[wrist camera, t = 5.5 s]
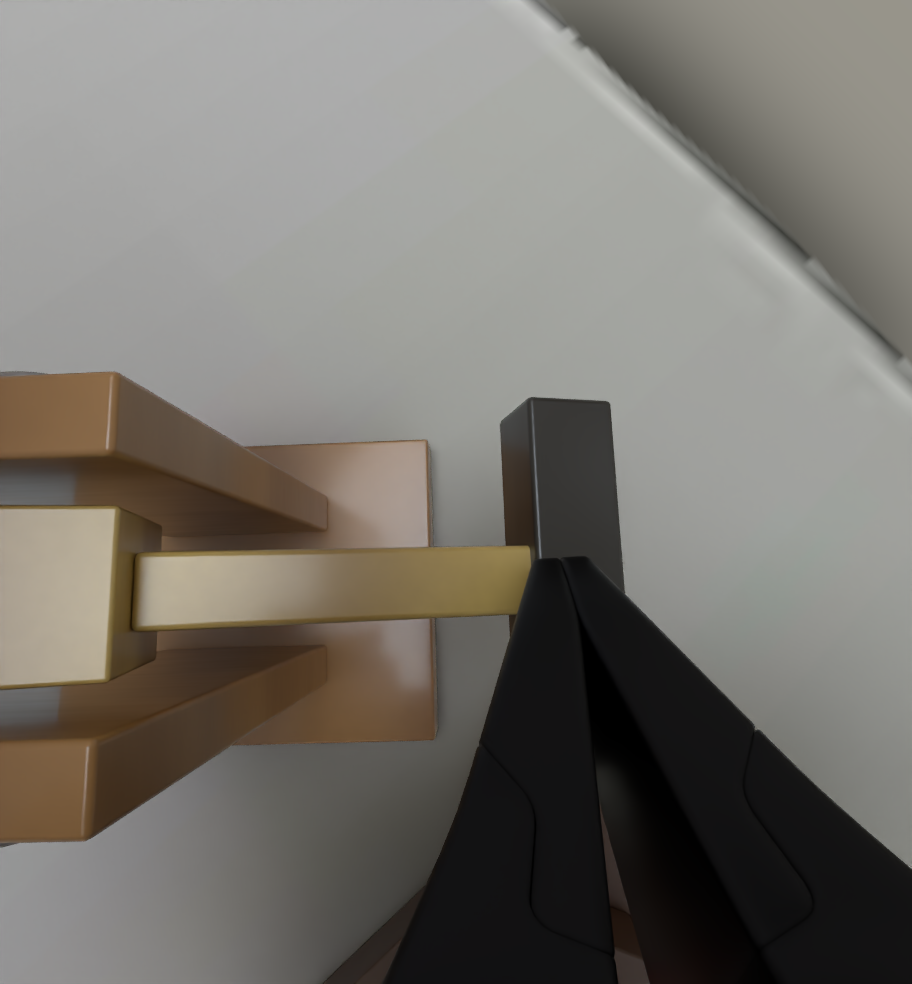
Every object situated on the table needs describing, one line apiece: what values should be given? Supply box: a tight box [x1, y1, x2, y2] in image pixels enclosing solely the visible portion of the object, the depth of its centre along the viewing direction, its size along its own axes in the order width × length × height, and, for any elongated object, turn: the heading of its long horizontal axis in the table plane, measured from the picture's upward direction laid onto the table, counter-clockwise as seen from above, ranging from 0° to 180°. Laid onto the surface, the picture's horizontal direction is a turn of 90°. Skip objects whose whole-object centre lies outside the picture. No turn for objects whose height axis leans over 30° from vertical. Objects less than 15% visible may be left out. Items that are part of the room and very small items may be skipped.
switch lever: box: [0, 397, 625, 690], centre depth 9 cm, size 10×6×2 cm, turn 92°
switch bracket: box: [0, 371, 438, 847], centre depth 12 cm, size 10×8×11 cm
